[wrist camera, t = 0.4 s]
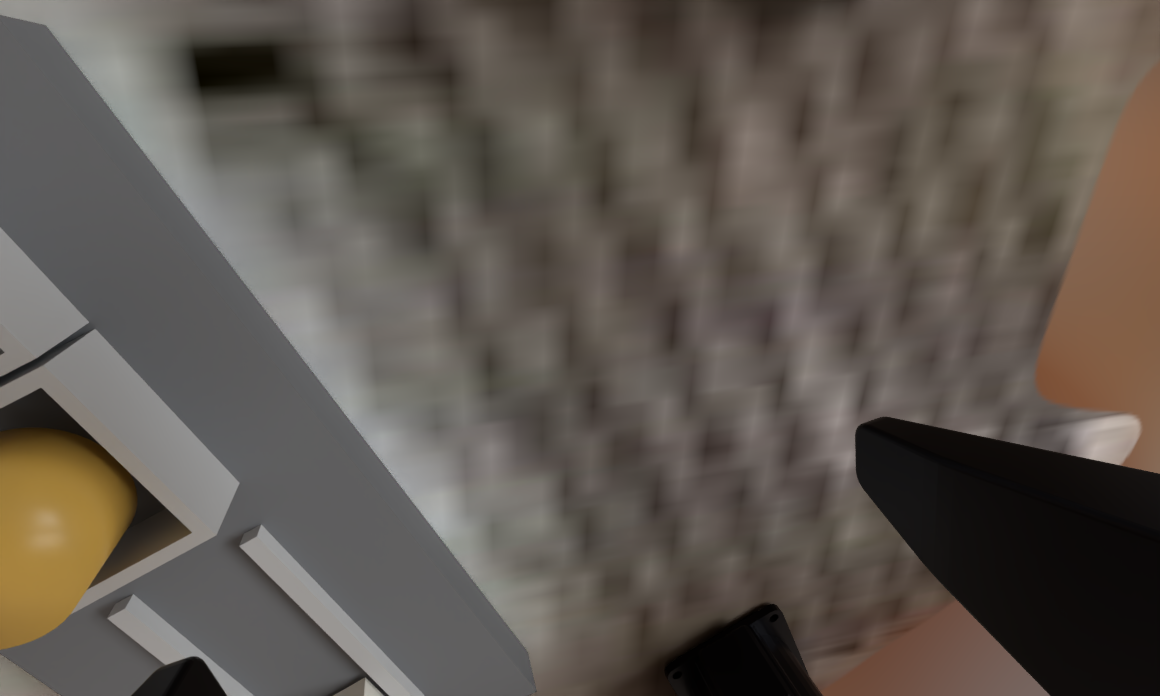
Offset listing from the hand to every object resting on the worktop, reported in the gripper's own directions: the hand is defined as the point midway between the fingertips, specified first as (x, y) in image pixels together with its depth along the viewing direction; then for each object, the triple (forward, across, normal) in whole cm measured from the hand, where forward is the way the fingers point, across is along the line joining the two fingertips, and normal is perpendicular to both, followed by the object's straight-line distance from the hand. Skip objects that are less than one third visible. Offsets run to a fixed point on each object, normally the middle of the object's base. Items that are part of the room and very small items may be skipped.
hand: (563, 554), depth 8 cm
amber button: (+10, +12, +1) cm, 15 cm away
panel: (+14, +11, +5) cm, 18 cm away
